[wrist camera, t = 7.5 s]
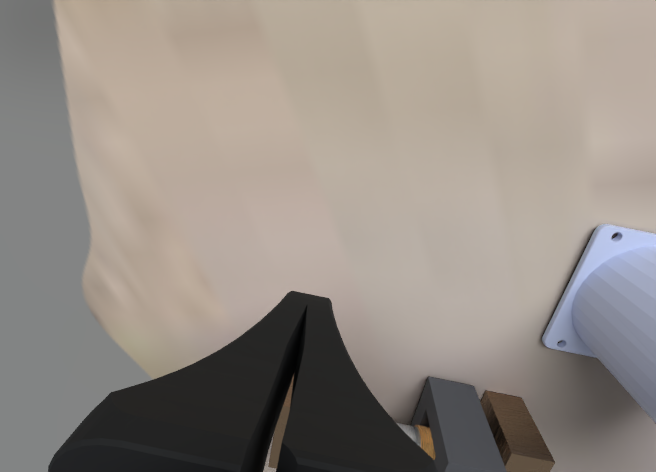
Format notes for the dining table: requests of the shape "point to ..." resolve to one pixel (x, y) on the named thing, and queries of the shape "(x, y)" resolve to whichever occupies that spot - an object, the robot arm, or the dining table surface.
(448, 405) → the gray square nut
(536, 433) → the brown dumbbell
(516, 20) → the dining table surface
